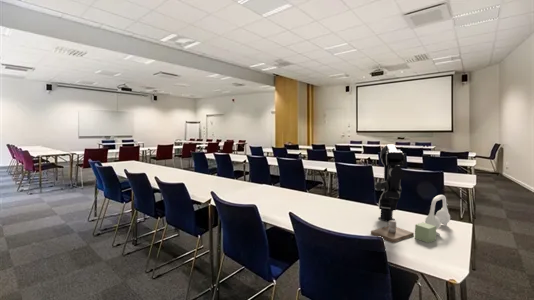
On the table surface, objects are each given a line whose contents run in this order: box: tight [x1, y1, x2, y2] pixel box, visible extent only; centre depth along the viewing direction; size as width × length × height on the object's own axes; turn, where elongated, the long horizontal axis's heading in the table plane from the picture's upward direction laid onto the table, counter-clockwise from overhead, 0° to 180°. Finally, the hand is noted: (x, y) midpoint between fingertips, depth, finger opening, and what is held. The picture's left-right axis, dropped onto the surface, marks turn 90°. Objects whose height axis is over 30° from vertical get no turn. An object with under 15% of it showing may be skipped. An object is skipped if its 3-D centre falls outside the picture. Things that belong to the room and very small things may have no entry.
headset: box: [424, 194, 451, 236], centre depth 137 cm, size 20×7×18 cm, turn 130°
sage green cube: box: [414, 221, 437, 244], centre depth 125 cm, size 6×6×7 cm
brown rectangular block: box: [370, 220, 415, 243], centre depth 130 cm, size 16×12×7 cm
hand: (392, 208), depth 130 cm, fingers open, 9 cm apart
